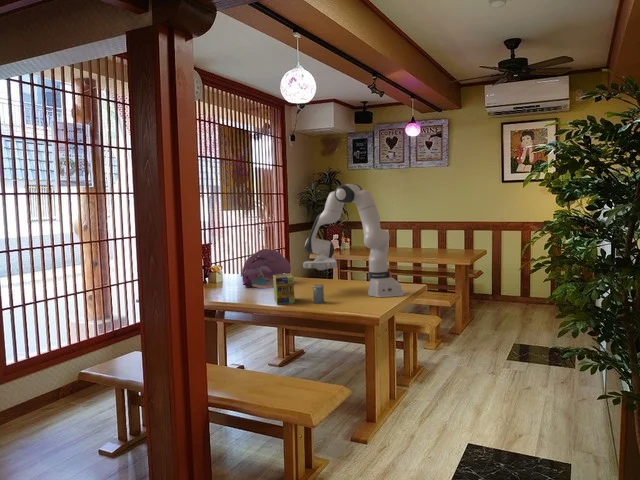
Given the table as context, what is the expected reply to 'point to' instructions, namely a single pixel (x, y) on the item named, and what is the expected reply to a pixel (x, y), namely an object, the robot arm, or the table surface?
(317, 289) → the tumbler
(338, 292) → the table surface
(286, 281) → the protein box
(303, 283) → the table surface
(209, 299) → the table surface
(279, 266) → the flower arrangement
